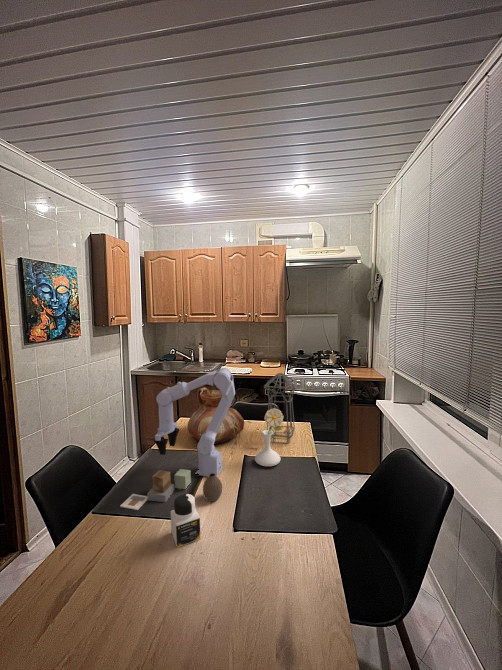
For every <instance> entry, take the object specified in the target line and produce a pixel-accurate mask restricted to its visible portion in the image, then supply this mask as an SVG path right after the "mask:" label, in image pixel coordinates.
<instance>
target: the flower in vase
mask: <svg viewBox="0 0 502 670" xmlns="http://www.w3.org/2000/svg"><path fill="white" fill-rule="evenodd" d="M263 419H264V421H265V423H266V426H265V425H263V424H262V425H261V426H263V427H264V428H265V430H263V431H261V434H262V435H263V438H264V447H263V449H262V450H259V452H257V454H256V455H255V457H254V461H255V462H256V464H258V465H260V466H263V467H273V466H277V465H278V464H279V463H281V459H282V458H281V455H280V454H279V453H278V452H276V451H275V450H274V449H272V447H271V438H272V437H271V435H274V432H273V431H276V432H279V431H283V427H280V426H282V422H283V421H284V415H283V413H282V411H281V410H280V409H278V408H276V407H275V408H274V407H272V409H270V408H269V410H268V409H267V411H266V412H265V415H264V418H263ZM267 425H268V430H267ZM270 426H272V427H271V429H270V430H269V428H270ZM272 429H273V431H272Z"/></svg>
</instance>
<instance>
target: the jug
mask: <svg viewBox="0 0 502 670" xmlns="http://www.w3.org/2000/svg"><path fill="white" fill-rule="evenodd" d="M222 396H223V395H222V393H221V391H220V389H208V388H207V387H200V388H198V389H197V392H196V398H197V403H198V404H199V407H198V409H197V410H196V411H194V412H193V414H192V415H191V416H190V418H189V419H188V423H187V431H188V433H189V434H190V436H191V437H192V438H193V439H195V440H197V441H198V442H199V441H200V439H201V435H202V434H203V433H204V432H205V431H206V430H207V428H208V426H209V424H210V422H211V420H212V418H213V415H214V413H215V411H216V409H217V407H218V405H219V403H220V400H221V398H222ZM244 428H245V419H244V418H243V416H242V415H241V414H240V412H239V411H237V409H235V408H233V407H229V409H228V411H227V413H226V415H225V417H224V420H223V422H222V424H221V426H220V428H219V430H218V432H217V434H216V437H215V442H214V444H219V443H220V444H221V443H223V442H226V441H228V440H230V439H232V438H234V437H236V436H238V435H239V434H240V433H242V431H244Z"/></svg>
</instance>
